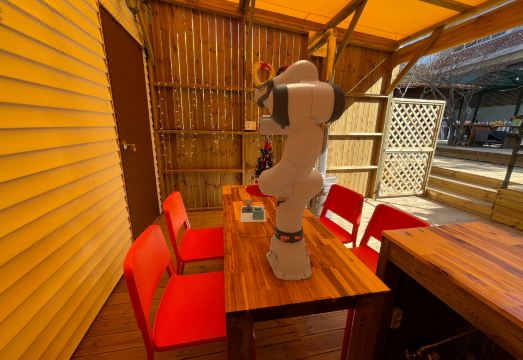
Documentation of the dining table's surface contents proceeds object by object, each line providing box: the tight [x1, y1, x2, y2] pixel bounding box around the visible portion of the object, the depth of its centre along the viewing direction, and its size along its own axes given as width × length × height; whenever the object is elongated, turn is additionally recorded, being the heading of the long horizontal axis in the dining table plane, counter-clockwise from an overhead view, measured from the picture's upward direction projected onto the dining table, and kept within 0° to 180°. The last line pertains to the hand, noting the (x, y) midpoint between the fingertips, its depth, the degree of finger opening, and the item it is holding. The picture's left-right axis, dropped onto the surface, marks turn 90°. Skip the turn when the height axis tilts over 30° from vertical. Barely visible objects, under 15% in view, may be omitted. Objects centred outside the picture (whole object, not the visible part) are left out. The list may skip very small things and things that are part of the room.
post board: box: [240, 200, 267, 223], centre depth 133 cm, size 24×15×8 cm, turn 4°
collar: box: [253, 206, 265, 220], centre depth 127 cm, size 6×6×5 cm
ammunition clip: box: [276, 196, 290, 207], centre depth 145 cm, size 11×2×12 cm, turn 99°
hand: (278, 143), depth 111 cm, fingers open, 8 cm apart
